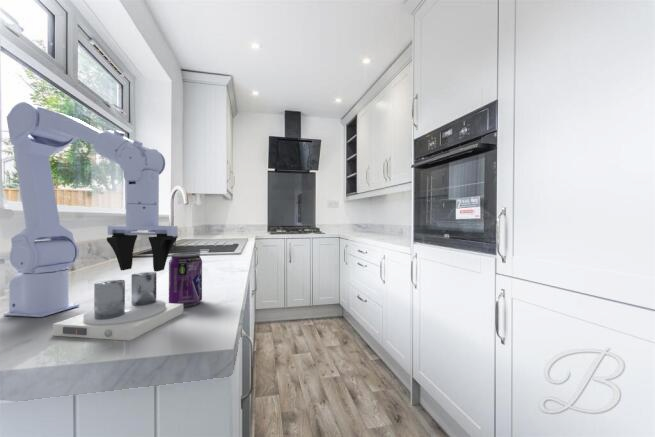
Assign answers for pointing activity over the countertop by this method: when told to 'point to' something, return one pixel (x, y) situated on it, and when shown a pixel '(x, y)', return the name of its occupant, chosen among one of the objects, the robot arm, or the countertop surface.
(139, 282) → the steel spacer
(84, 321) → the kitchen scale
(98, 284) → the steel spacer
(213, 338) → the countertop surface
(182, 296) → the beverage can
